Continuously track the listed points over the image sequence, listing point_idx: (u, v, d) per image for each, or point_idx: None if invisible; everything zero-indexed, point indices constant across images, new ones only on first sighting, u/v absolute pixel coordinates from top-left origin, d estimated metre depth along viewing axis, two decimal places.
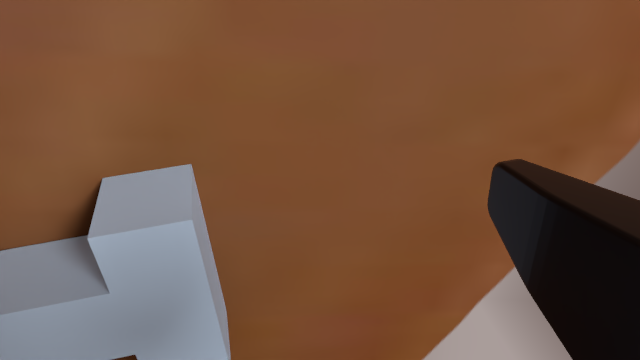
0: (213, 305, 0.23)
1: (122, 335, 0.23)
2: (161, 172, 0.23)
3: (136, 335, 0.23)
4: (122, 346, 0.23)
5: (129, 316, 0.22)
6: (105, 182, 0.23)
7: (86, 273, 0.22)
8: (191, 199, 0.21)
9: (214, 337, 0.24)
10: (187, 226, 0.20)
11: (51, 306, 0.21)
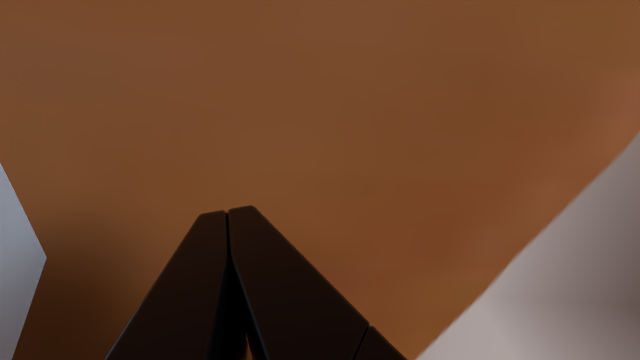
0: None
1: None
2: None
3: None
4: None
5: None
6: None
7: None
8: None
9: None
10: None
11: None
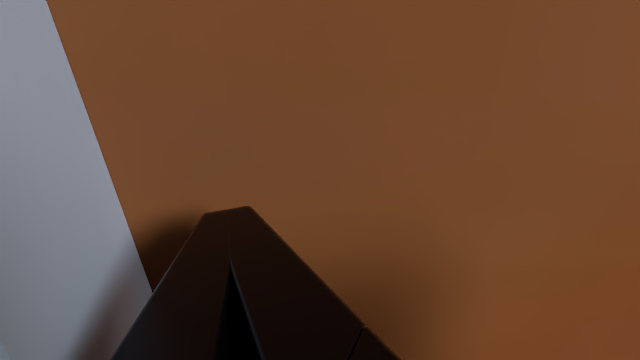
0: None
1: None
2: None
3: None
4: None
5: None
6: None
7: None
8: None
9: None
10: None
11: None
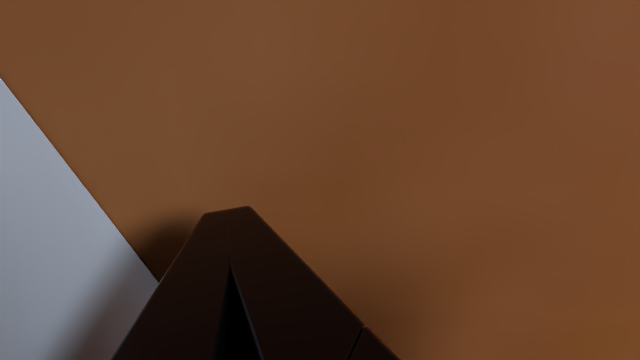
0: None
1: None
2: None
3: None
4: None
5: None
6: None
7: None
8: None
9: None
10: None
11: None
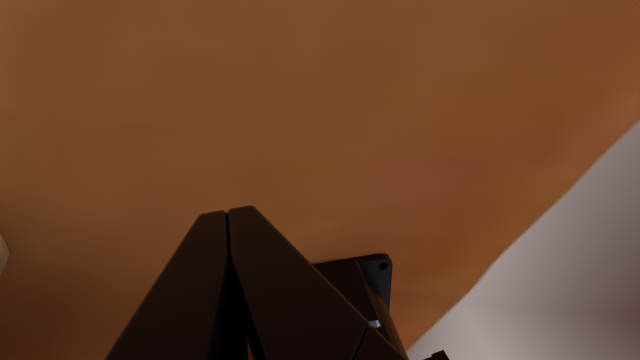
0: None
1: None
2: None
3: None
4: None
5: None
6: None
7: None
8: None
9: None
10: None
11: None
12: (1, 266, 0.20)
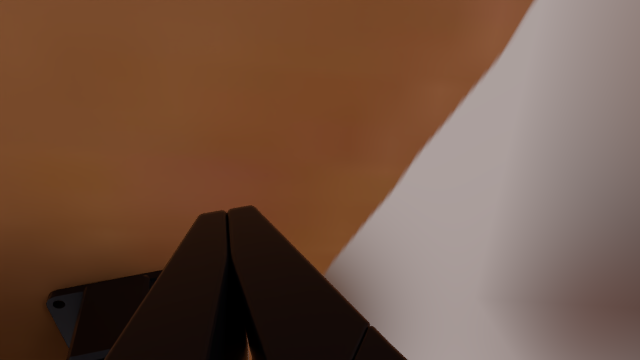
0: None
1: None
2: None
3: None
4: None
5: None
6: None
7: None
8: None
9: None
10: None
11: None
12: None
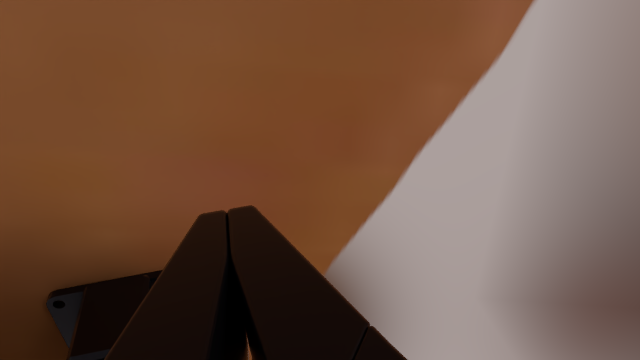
0: None
1: None
2: None
3: None
4: None
5: None
6: None
7: None
8: None
9: None
10: None
11: None
12: None
